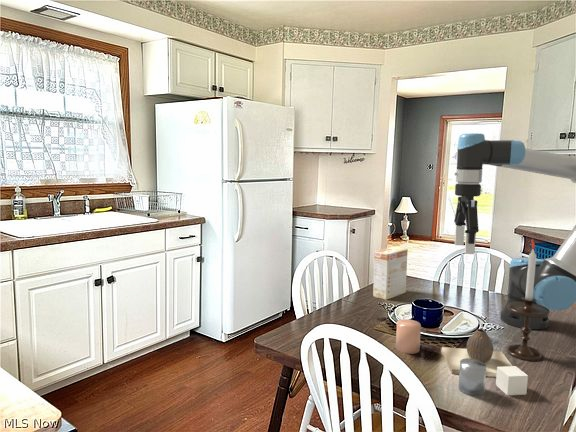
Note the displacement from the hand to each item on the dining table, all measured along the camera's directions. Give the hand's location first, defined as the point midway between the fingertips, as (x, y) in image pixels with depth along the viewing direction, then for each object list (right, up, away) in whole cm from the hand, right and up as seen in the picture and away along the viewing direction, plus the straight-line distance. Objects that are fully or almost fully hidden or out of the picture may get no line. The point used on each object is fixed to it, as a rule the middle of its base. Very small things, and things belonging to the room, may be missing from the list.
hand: (463, 249), depth 140 cm
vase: (-3, -30, -17) cm, 35 cm away
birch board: (-3, -31, -17) cm, 36 cm away
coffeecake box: (-13, -23, +45) cm, 53 cm away
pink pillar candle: (-20, -30, -7) cm, 37 cm away
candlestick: (+14, -31, -10) cm, 35 cm away
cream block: (0, -33, -30) cm, 45 cm away
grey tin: (-11, -33, -31) cm, 46 cm away
